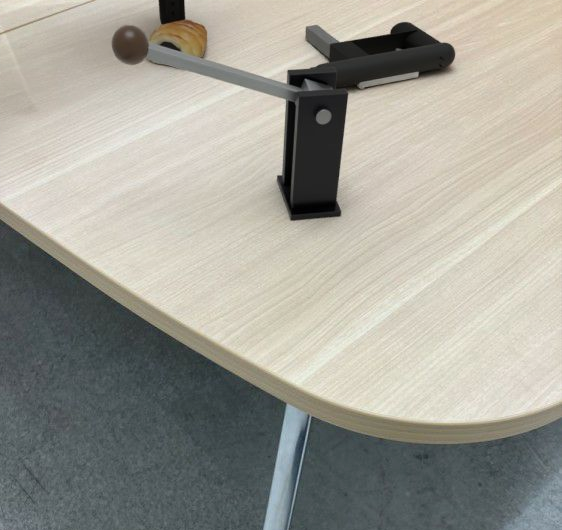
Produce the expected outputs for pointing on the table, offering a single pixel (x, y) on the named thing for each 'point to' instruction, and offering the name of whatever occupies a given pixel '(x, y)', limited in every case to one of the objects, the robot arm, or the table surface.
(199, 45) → the pastry
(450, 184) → the table surface
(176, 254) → the table surface
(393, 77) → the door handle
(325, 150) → the black lever stand
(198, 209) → the table surface
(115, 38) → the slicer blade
